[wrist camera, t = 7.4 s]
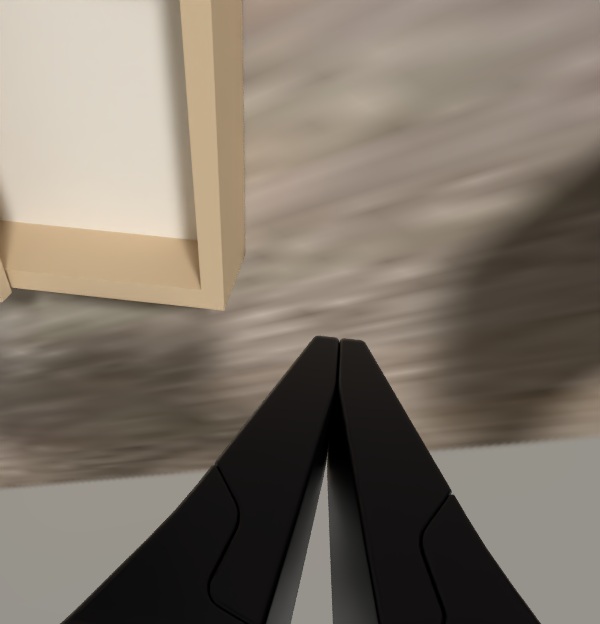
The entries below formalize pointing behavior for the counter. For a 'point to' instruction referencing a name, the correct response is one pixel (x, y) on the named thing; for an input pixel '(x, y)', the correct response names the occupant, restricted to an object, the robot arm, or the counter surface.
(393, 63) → the counter surface
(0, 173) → the box
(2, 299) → the lid
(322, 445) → the robot arm
